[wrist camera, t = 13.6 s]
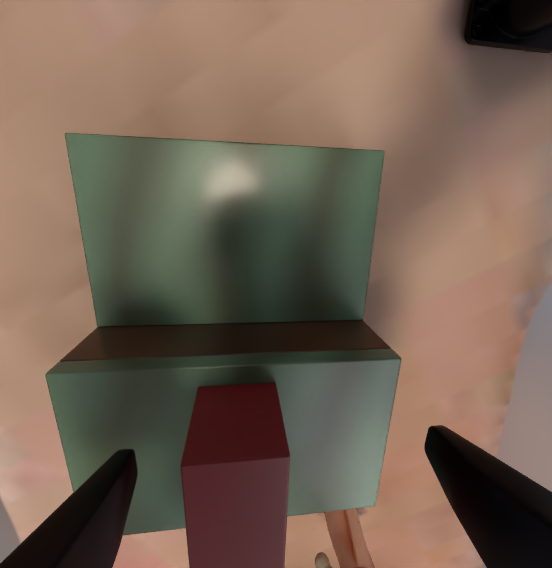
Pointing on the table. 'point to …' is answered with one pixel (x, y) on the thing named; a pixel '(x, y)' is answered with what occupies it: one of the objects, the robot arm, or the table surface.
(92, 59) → the table surface
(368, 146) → the table surface
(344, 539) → the grandmother figurine
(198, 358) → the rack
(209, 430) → the red rectangular block
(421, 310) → the table surface
